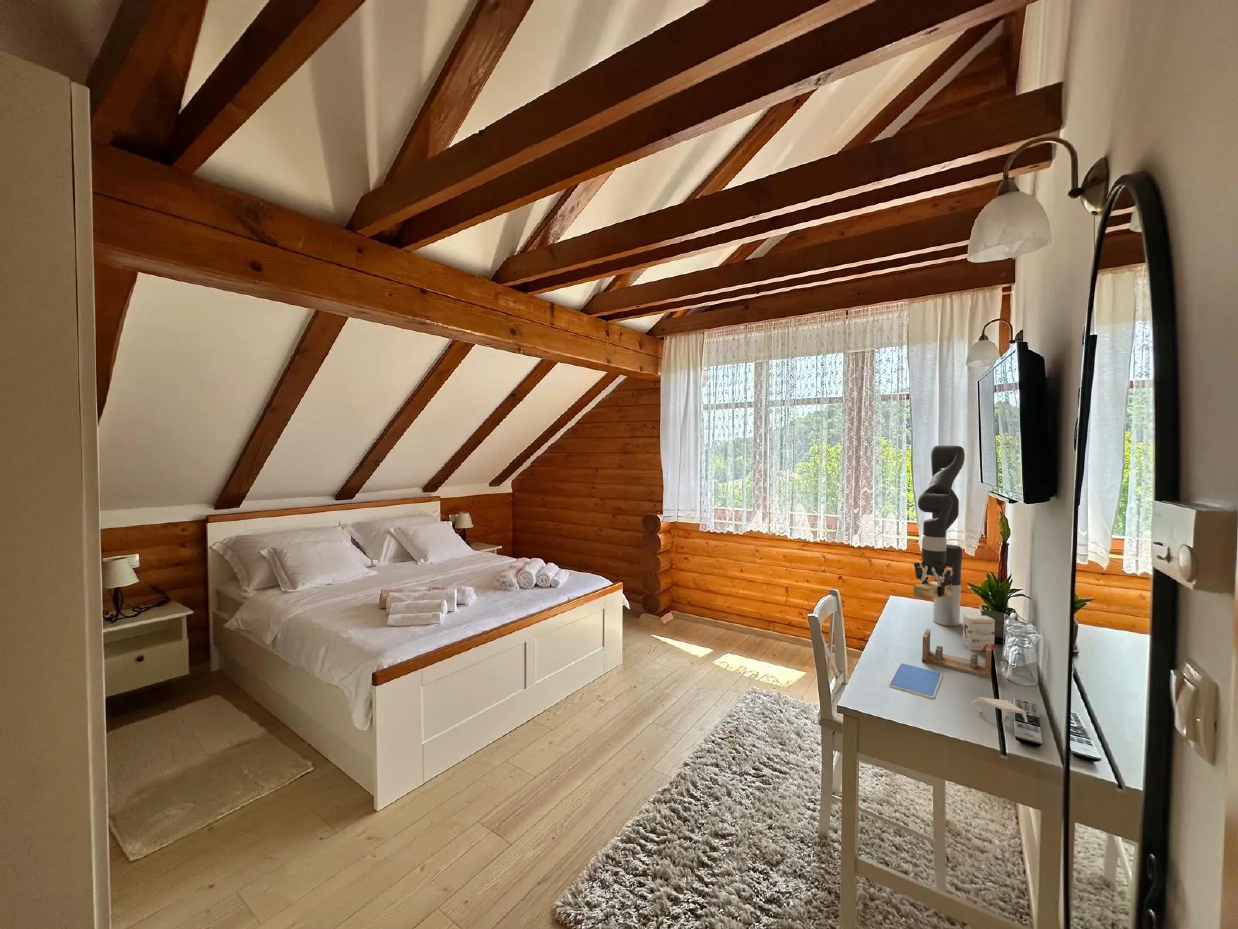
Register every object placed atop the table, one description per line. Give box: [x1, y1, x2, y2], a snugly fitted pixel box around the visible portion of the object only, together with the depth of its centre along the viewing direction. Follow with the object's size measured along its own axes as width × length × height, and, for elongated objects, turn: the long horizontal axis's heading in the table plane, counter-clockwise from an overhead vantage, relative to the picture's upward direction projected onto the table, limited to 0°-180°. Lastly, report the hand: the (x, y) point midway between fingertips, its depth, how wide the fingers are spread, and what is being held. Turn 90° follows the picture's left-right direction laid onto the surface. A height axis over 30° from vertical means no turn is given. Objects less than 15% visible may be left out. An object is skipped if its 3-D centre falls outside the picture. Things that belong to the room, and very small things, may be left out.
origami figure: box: [971, 696, 1029, 726], centre depth 137 cm, size 12×8×5 cm
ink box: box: [962, 614, 996, 652], centre depth 183 cm, size 9×5×12 cm, turn 84°
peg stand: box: [921, 628, 993, 679], centre depth 170 cm, size 9×19×9 cm, turn 51°
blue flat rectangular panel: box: [887, 662, 943, 700], centre depth 159 cm, size 19×13×1 cm, turn 140°
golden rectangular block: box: [913, 581, 952, 601], centre depth 181 cm, size 14×5×4 cm, turn 115°
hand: (932, 593), depth 181 cm, fingers closed on golden rectangular block, 5 cm apart
